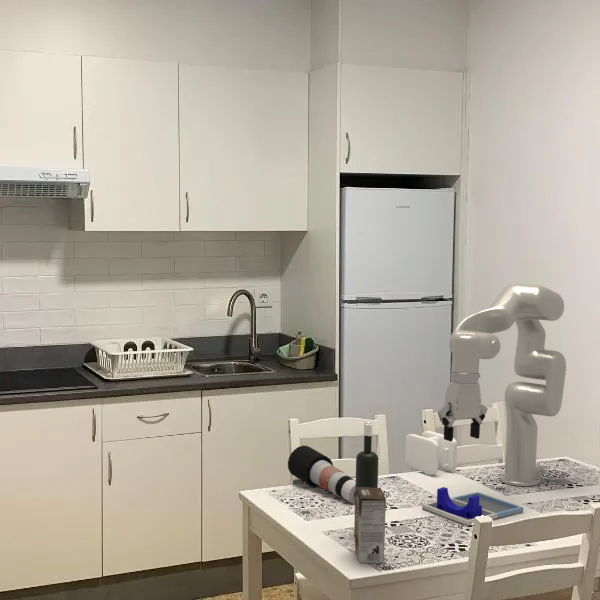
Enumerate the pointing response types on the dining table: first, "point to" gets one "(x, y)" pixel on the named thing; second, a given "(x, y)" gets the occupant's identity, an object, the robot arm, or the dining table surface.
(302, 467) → the telephoto camera lens
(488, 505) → the grey divided tray
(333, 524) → the dining table surface
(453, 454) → the organizer
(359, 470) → the wine bottle
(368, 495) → the coffee box
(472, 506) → the blue u-shaped cradle
